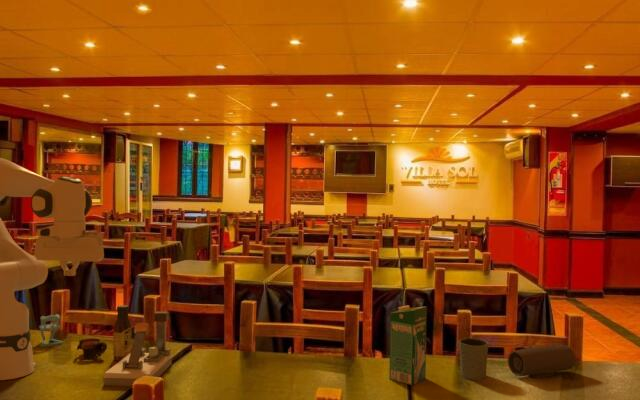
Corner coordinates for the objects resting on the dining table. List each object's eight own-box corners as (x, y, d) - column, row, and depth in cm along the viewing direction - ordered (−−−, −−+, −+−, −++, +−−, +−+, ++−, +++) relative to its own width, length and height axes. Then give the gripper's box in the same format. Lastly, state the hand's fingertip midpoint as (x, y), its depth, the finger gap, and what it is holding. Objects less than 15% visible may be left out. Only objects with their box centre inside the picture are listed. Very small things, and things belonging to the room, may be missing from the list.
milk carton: (402, 372, 191) (403, 302, 190) (425, 378, 185) (427, 305, 184) (389, 379, 184) (390, 306, 183) (412, 385, 178) (413, 310, 177)
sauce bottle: (127, 362, 198) (127, 308, 197) (110, 361, 198) (110, 307, 197) (133, 356, 204) (134, 304, 204) (117, 356, 204) (117, 304, 204)
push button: (147, 358, 187) (147, 349, 187) (150, 355, 190) (150, 346, 190) (156, 358, 187) (156, 349, 187) (159, 355, 190) (159, 346, 190)
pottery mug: (70, 363, 198) (71, 340, 201) (85, 366, 206) (86, 345, 210) (100, 356, 196) (101, 333, 200) (114, 360, 205) (114, 338, 208)
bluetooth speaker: (556, 367, 198) (556, 340, 198) (576, 375, 190) (577, 347, 189) (506, 374, 190) (506, 346, 190) (525, 383, 181) (525, 354, 181)
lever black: (153, 355, 192) (154, 313, 192) (156, 353, 195) (156, 311, 194) (166, 356, 192) (166, 313, 192) (168, 354, 194) (168, 311, 194)
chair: (57, 339, 226) (57, 310, 225) (62, 343, 219) (62, 314, 219) (36, 342, 221) (36, 313, 220) (41, 347, 214) (41, 317, 214)
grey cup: (467, 381, 182) (468, 346, 182) (452, 371, 192) (453, 338, 192) (493, 379, 185) (494, 344, 184) (477, 369, 195) (478, 336, 194)
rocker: (130, 352, 192) (130, 348, 192) (133, 350, 195) (134, 345, 195) (141, 355, 192) (142, 350, 192) (145, 352, 195) (145, 348, 195)
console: (103, 385, 175) (103, 365, 174) (131, 363, 197) (131, 345, 196) (149, 386, 174) (149, 367, 174) (171, 364, 196) (171, 346, 196)
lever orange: (124, 366, 178) (135, 322, 187) (126, 369, 180) (137, 325, 189) (137, 367, 178) (148, 323, 187) (139, 369, 179) (150, 326, 189)
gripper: (107, 230, 167) (107, 274, 167) (43, 228, 168) (43, 273, 168) (98, 231, 161) (98, 278, 161) (31, 230, 162) (31, 276, 162)
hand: (69, 275), depth 165 cm, fingers closed
